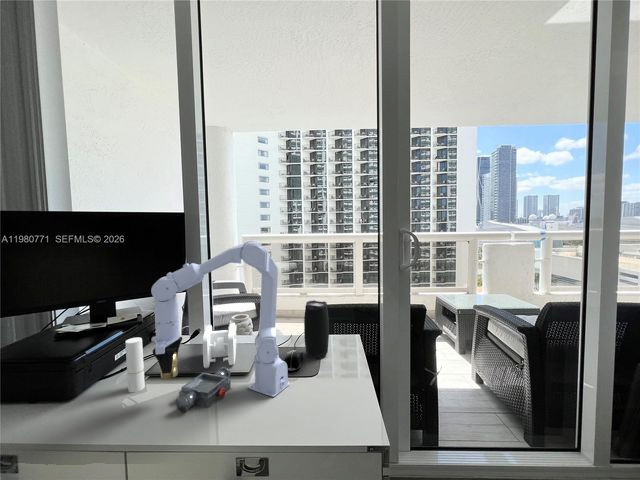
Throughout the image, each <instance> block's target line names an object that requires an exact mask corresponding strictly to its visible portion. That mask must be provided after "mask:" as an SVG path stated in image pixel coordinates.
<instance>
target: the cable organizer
mask: <svg viewBox="0 0 640 480" xmlns="http://www.w3.org/2000/svg"><path fill="white" fill-rule="evenodd" d="M237 328H238V326H237V324H236V323H235V322H231V323H229V326H228V329H225V330H224V329H223V330H221V329H220V330H214V331H213V326H212V324H208V325H207V326H206V328H205V331H204V333H203V336H202V357H203V358H202V360H203V362H202V363H203V368H205V369H208V368H209V367H210V365H211V363H216V358H223V362H225V361H227V362H228V365H230V366H233V365H235V363H236V354H237ZM232 364H233V365H232Z"/></svg>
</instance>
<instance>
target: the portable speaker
mask: <svg viewBox="0 0 640 480" xmlns="http://www.w3.org/2000/svg"><path fill="white" fill-rule="evenodd" d="M329 318H330V317H329V311H328V303H327V302H326V301H318V300H309V301H306V304H305V310H304V317H303V323H304V324H303V327H304V331H303V332H304V334H303V335H304V347H305V353H306V356H307V357H309V356H310V357H314V358H315V359H316V360H322V359H324V358H326V356H327V354H328V353H329V351H328V350H329V342H330V341H329V337H330V331H329V329H330V328H329V327H330V325H329V324H330V321H329Z"/></svg>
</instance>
